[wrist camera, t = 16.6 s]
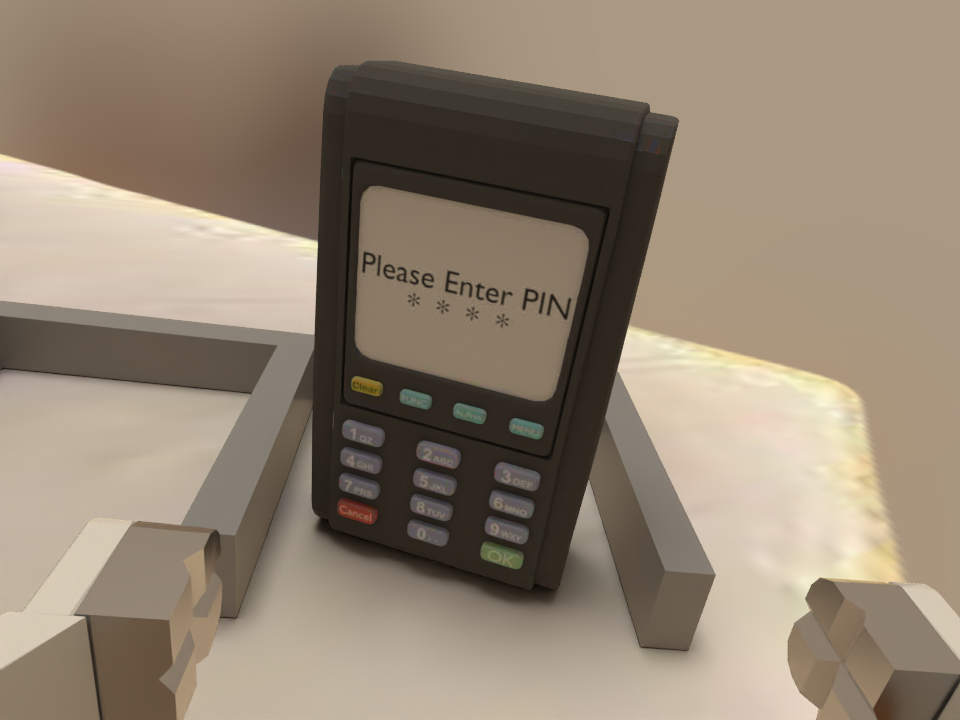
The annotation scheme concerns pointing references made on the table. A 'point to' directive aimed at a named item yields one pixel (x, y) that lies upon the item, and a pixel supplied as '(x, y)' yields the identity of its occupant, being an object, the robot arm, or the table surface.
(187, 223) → the table surface
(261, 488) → the comb rack
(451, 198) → the card reader
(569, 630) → the table surface
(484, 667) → the table surface
